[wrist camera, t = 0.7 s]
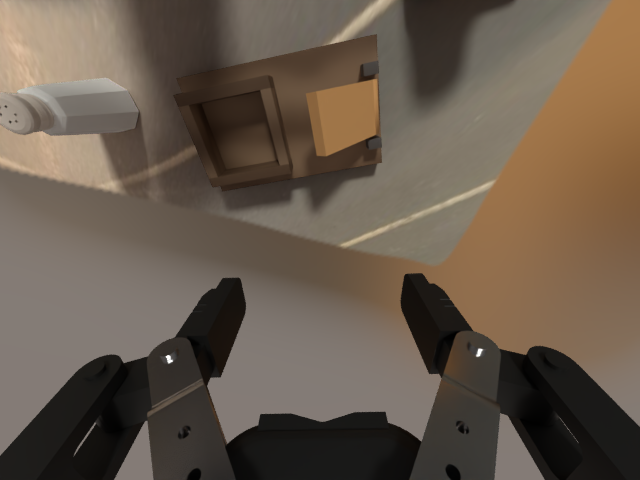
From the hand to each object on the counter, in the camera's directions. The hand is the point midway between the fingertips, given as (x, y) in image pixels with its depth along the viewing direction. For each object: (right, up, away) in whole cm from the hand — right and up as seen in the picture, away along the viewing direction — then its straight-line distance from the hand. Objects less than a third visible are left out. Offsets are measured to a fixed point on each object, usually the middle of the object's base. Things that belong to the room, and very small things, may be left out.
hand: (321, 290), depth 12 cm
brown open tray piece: (-4, +16, +16) cm, 23 cm away
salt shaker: (-23, +18, +15) cm, 33 cm away
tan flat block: (+2, +15, +12) cm, 19 cm away
